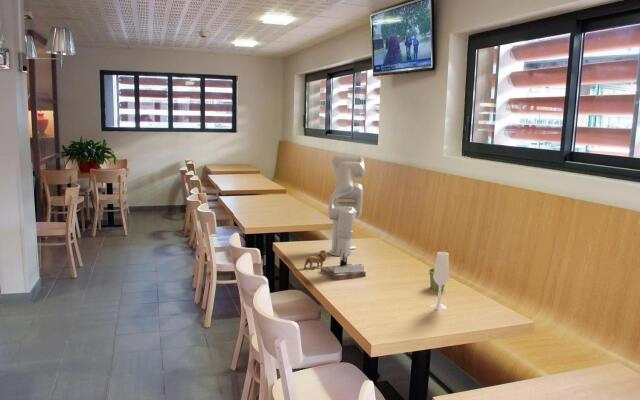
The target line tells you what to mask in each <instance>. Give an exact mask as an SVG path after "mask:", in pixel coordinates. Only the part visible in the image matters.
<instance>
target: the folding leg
mask: <svg viewBox="0 0 640 400" xmlns="http://www.w3.org/2000/svg"><path fill="white" fill-rule="evenodd" d="M332 266H333V273H347V272H361V271H365V265H364V264H363V263H362V264H360V263H358V264H352V265H343V266H337V265H332Z"/></svg>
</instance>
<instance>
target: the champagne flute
mask: <svg viewBox="0 0 640 400" xmlns="http://www.w3.org/2000/svg"><path fill="white" fill-rule="evenodd" d="M449 255H450V254H449V252H447V251H438V252H436V256H435V257H436V259H435V262H434V263H435V264H434V274H433V279H434V281H435V282H436V283H437V284H438V285H439V290H437V291H438V292H437V293H438V294H437V302H436V303H433V304H431V305H430V307H431V309H433V310H437V311H444V310H447V306H445V305H444V304H443V303H441V301H442V300H441V298H442V290H441V289H442V285H444V286H445V285H446V284H447V283H448V282H449V280H450V267H449V265H450V261H449V260H450V259H449V257H450V256H449Z"/></svg>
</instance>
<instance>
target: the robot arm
mask: <svg viewBox="0 0 640 400" xmlns="http://www.w3.org/2000/svg"><path fill="white" fill-rule="evenodd" d="M331 163H332V168H333V170H334V173H335V185H334V186H335V187H334V188H335V190H334V191H333V192H332V194H331V195H330V197H329V200H328V208H327V209H328V211H327V212H328V213H327V214H328V218H329V220H330V221H332V231H331V233H332V234H331V235H332V236H331V249H329V251H328V254H329V255H330V256H335V257H340V258H339V261H340V262H339V265H340V266H343V265H347V264H348V256H350V255H351V251H353V250H356V246H351V245H352V242H351V239H352V238H353V235H354V234H353V233H354V232H353V231H354V230H353V229H354V220H355V219H356V218H361V217H362V214H363V213H362V212H363V201H364V200H363V199H364V198H363V197H364V188H363V186H362V184H361V183H358V182H354V178H363V177H364V176H365V173H366V166H365V160H364V158H363V156H361V155H347V154H339V155H337V154H336V155H334V156H333V157H332V159H331ZM337 199H340V200H337Z"/></svg>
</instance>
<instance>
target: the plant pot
mask: <svg viewBox="0 0 640 400" xmlns="http://www.w3.org/2000/svg"><path fill="white" fill-rule="evenodd" d="M434 268H435V267H434ZM434 268H433V267H431V268H429V269H428V273H429V279H430V280H429V282H430V288H431V289H432V290H435V291H439V285H438V284H437V283H436V282H435V281H434V279H433V274H434ZM444 288H445V284H444V285H442V289H441V291H442V290H444Z"/></svg>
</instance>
